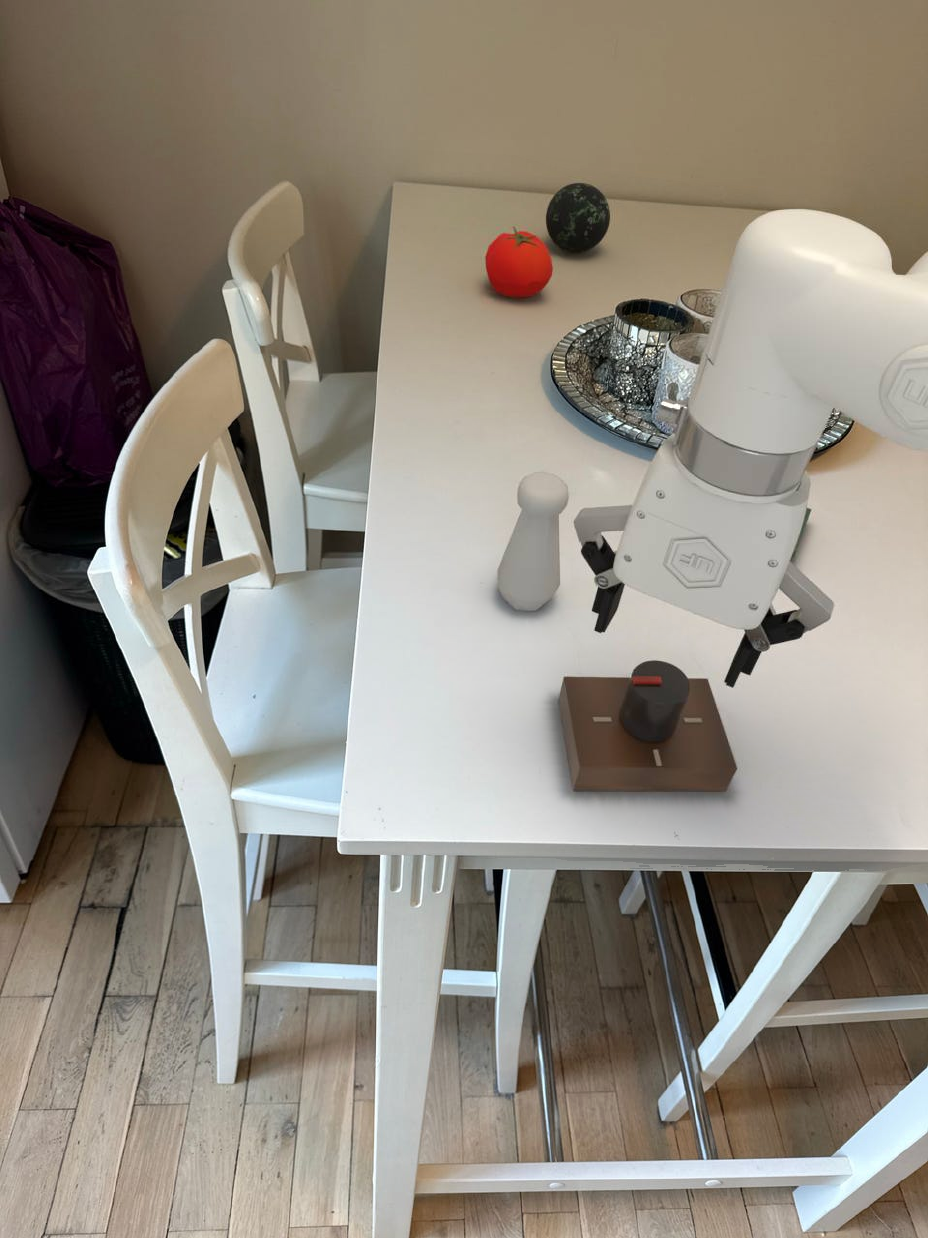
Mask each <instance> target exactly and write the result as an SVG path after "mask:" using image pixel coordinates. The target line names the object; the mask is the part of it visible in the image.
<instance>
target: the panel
mask: <svg viewBox="0 0 928 1238" xmlns="http://www.w3.org/2000/svg"><path fill="white" fill-rule="evenodd" d="M630 678H631V677H625V676H624V677H618V676H617V677H616V676H608V677H607V676H563V679H562V682H561V687H560V691H559V696H558V699H557V701H558V707H559V714H560V719H561V726H562V732H563V738H564V744H565V750H566V755H567V762H568V767H569V773H570V779H571V786H572V792H727V790H728V788H729V787H730V784H731V782H732V781H733V778H734V776H735V775H736V772H737V770H738V767H737V763H736V760H735V757H734V754H733V751H732V748H731V745H730V742H729V740H728V736H727V733H726V729H725V727H724V724H723V720H722V718H721V714H720V711H719V708H718V706H717V703H716V700H715V697H714V694H713V690H712V688H711V687H712V686H711V685H710V682H709V678H696V677H694V678H693V677H691V678H690V677H687V678H688V680H689V682H690V688H691V689H690V694H689V696H688V699H687V701H686V704H685V706H684V709H683V711H682V714H681V716H680V719H679V722H678V724H677V727H676V729H675V732H674V733H673V735H672V736H671V737H670V738H668V739H667V740H664V741H661V742H655V743H652V742H645V741H641V740H639V739H637V738H635V737H633V736H632V735H630V734H629V733H628V732H627V731H626V730H625V729H624V727H623V726H622V724H621V721H620V710H621V707H622V704H623V700H624V697H625V694H626V691H627V688H628V685H629V681H630Z"/></svg>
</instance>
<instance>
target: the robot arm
mask: <svg viewBox="0 0 928 1238" xmlns="http://www.w3.org/2000/svg"><path fill="white" fill-rule="evenodd" d="M892 266H893V259H892V255H891V251H890V249H889V246H888V245H887V244H886V242H885V241H884V240H883V238H882V237H881V236H880V235H879V234H878V233H877V232H875V231H873V230H871V229H870V228H868V227H867V226H866V225H865V226H864V224H861V223H860V222H857V221H855V220H852V219H850V218H848V217H844V216H841V215H839V214H834V213H830V212H826V211H822V210H814V209H807V208H787V209H784V208H783V209H777V210H772V211H768V212H766V213H765V214H762V215H760V216H758V217H756V218H755V219H754V220H752V221H751V222H750V223H749V224H748V225H747V226H746V228H745V229H744V230H743V231H742V233H741V235H740V237H739V238H738V240H737V243H736V246H735V249H734V251H733V253H732V257H731V259H730V263H729V266H728V269H727V273H726V276H725V280H724V282H723V286H722V288H721V292H720V294H719V295H720V296H719V299H718V302H717V305H716V309H715V311H714V315H713V318H712V321H711V324H710V328H709V331H708V334H707V337H706V341H705V344H704V348H703V351H702V354H701V357H700V361H699V364H698V367H697V371H696V374H695V376H694V380H693V384H692V386H691V390H690V394H689V396H685V398H684V400H681V399H677V400H673V399H670V398H667V397H663V400H662V401H661V403H660V406H659V408H658V411H657V415H656V420H657V421H659V422H663V423H665V424H667V427H670V428H672V433H671V434H670V435H669V436H668V437H667V438H666V440H664V442H662V443H661V444H660V446H659V447H658V449H657V451H656V453H655V454H654V456H653V458H652V460H651V462H650V464H649V465H648V468H647V470H646V472H645V473H644V476H643V478H642V480H641V483H640V486H639V488H638V490H637V493H636V496H635V498H634V501H633V503H632V504H628V505H612V506H597V507H596V506H595V507H584V508H582V509H580V510H579V512H578V513H577V515H576V516H575V517H574V519H573V526H574V529H575V532H576V535H577V539H578V542H579V543H580V545H581V548H580V554H581V556H582V558H583V559H584V560H585V562H586V564H587V565H588V566H589V568H590V569H591V571H592V572H593V574H594V578H593V580H594V584H595V586H596V587H597V589H596V592H595V595H594V600H593V604H592V607H591V612H593V613H594V614H597V619H596V621H595V626H594V629H593V631H594V632H596V633H599V634H602V633H605V632H606V631H607V629H608V627H609V625H610V624H611V622H612V621H613V618H614V617H615V616H616V613H617V611H618V609H619V606H620V603H621V599H622V596H623V593H624V589H625V586H626V587H629V589H632V590H635V591H637V592H639V593H642V594H643V595H647V596H649V597H652V598H653V599H656V600H658V601H661V602H664V603H666V604H669V605H672V606H674V607H677V608H679V609H682V610H684V611H687V612H689V613H692V614H695V615H696V616H699V617H703V618H705V619H707V620H710V621H712V622H715V623H717V624H720V625H723V626H725V627H728V628H732V629H736V630H743V631H744V634H743V636H742V638H741V640H740V642H739V644H738V647H737V650H736V651H735V654H734V656H733V658H732V661H731V663H730V665H729V668H728V671H727V673H726V675H725V678H724V681H723V682H724V683H725V686H727V687H729V688H734V687H735V685H736V682H737V681H738V678H739V677H740V674H741V673H742V674H743V675H744V674H745V675H747V676H751V675H752V673H753V671H754V669H755V666H756V665H757V663H758V660H759V658H760V656H761V654H762V652H767V651H769V649H770V648H771V646H773V645H777V644H783V643H787V642H791V641H796V640H799V639H801V638H802V637H803V635H804V634H805V633H807V632H810V631H812V630H815V629H816V628H817V627H820V626H821V625H824V624H825V623H826V622H828V621H830V619H831V618H832V614H833V612H834V607H835V602H834V601H833V600H832V599H831V598H830V597H829V596H828V595H827V594H826V593H824V591H822V590H821V588H820V587H818V586H817V585H816V584H815V583H814V582H813V581H812V580H811V579H810V578H809V577H807V576H806V575H805V573H804V572H802V571H801V569H799V568H798V567H797V566H796V565H795V564H794V563H793V562H790V559H791V556H792V554H793V551H794V548H795V546H796V543H797V540H798V537H799V534H800V531H801V528H802V525H803V521H804V517H805V513H806V509H807V508H808V503H809V496H810V490H811V478H810V475H809V473H808V472H807V468H808V466H809V464H810V461H811V459H812V457H813V455H814V452H815V450H816V448H817V445H818V443H819V441H820V439H821V437H822V435H823V433H824V431H825V428H826V426H827V423H828V421H829V419H830V417H831V415H832V413H833V410H834V409H835V410H837V411H838V412H840V413H842V414H844V415H845V416H846V417H848V418H850V419H852V420H853V421H854V422H856V423H858V424H860V426H863V427H864V428H866V429H868V430H869V431H870V432H873V433H875V434H876V435H878V436H880V437H882V438H884V439H885V440H888V441H889V442H892V443H893V444H897V445H899V446H902V447H904V448H907V449H911V450H914V451H920V452H924V453H925V452H926V453H928V251H926V252H925V253H924V254H923V255H922V256H921V257H920V258H919V259H918V260H917V261H916V262H915V263H914V264H913V265H912V266H911V267H910V268H909V270H908V271H907V272H906V273H905V274H897V273H895V272H894V270H893V267H892ZM603 532H604V533H605V532H622V535H621V538H620V540H619V543H618V546H617V549H616V550H615V551H614V550H613V549H612V546H611V545H610V543H609V542H608V540H607V539H606V538H605V536H604V535H602V533H603ZM778 590H780V591H781V592H782V593H783V594H784V595H785V596H786V597H787V598H788V599H789V600H791V602H793V603H794V604H795V605H796V606H797V607H798V609H792V610H789V611H785V612H781V613H780V612H779V613H777V612H776V610H775V608H774V605H773V601H774V599H775V597H776V595H777V593H778V592H779V591H778Z"/></svg>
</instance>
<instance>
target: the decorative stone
mask: <svg viewBox="0 0 928 1238" xmlns="http://www.w3.org/2000/svg"><path fill="white" fill-rule="evenodd" d="M610 223H611V211H610V206H609V203H608V201H607V198H606V197H605V195H604V194H603V193H602V192H601V190H599V189H598V188H596V186H594V185H593V184H589V183H585V182H574V183H569V184H567V185H565V186H563V187H561V188H560V189H559V190H558V191H557V192H556V193H555V194H554V195H553V196H552V198H551V199H550V201H549V203H548V205H547V208H546V212H545V226H546V231H547V234H548V236H549V238H550V240H551V241H552V242H553V244H554V245H555V246H556V247H558V248H559V249H560V250H562V251H565V252H567V253H571V254H581V253H586V252H588V251H590V250H593V249H594V248H595V247H596V246H597V245H599V244H600V243H601V242H602V240H603V239H604V238H605V236H606V234H607V233H608V230H609V227H610Z"/></svg>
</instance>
